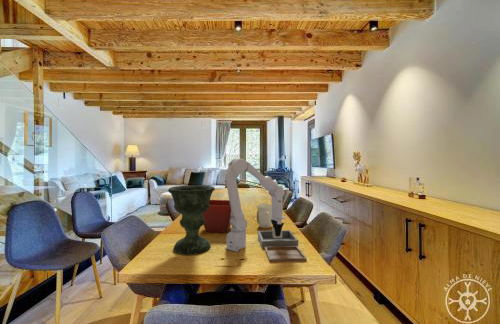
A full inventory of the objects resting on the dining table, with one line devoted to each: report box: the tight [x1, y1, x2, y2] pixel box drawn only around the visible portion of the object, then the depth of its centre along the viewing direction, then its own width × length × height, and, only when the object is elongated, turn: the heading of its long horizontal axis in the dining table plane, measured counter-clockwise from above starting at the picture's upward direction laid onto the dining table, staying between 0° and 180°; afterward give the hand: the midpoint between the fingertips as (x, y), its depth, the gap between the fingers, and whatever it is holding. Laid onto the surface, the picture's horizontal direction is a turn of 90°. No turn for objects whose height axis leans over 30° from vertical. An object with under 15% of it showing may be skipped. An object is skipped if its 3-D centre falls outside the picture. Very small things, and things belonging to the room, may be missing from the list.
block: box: [271, 226, 283, 238], centre depth 143 cm, size 4×4×4 cm
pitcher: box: [256, 202, 273, 229], centre depth 174 cm, size 11×18×14 cm, turn 8°
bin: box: [257, 229, 299, 249], centre depth 143 cm, size 18×18×4 cm
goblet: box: [167, 184, 216, 256], centre depth 134 cm, size 22×23×30 cm
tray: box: [264, 245, 308, 263], centre depth 124 cm, size 16×16×2 cm
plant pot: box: [202, 199, 232, 233], centre depth 168 cm, size 19×19×17 cm
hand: (276, 234), depth 143 cm, fingers closed on block, 4 cm apart
